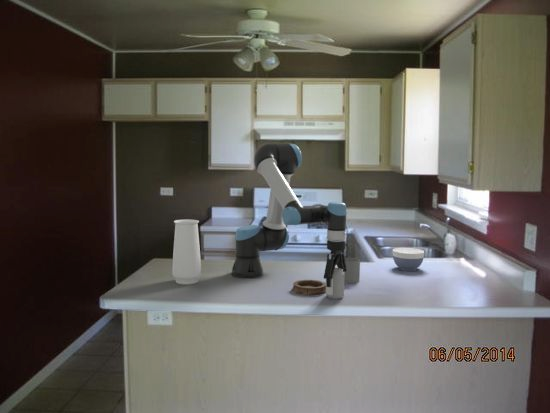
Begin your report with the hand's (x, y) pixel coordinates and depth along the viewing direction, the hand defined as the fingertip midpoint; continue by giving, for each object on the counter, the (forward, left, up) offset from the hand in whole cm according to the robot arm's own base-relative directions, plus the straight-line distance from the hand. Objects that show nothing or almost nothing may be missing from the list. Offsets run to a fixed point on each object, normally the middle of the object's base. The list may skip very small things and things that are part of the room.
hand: (335, 290), depth 219 cm
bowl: (+15, +67, -3) cm, 69 cm away
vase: (-68, -10, -3) cm, 69 cm away
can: (0, 0, -3) cm, 3 cm away
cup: (-3, +29, -3) cm, 29 cm away
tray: (-13, +4, -3) cm, 14 cm away
